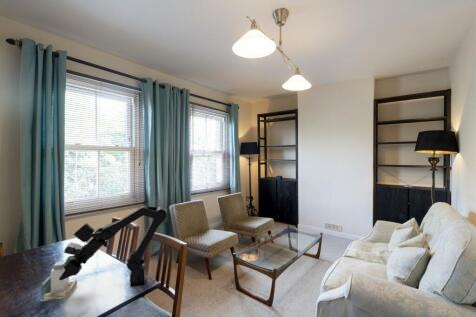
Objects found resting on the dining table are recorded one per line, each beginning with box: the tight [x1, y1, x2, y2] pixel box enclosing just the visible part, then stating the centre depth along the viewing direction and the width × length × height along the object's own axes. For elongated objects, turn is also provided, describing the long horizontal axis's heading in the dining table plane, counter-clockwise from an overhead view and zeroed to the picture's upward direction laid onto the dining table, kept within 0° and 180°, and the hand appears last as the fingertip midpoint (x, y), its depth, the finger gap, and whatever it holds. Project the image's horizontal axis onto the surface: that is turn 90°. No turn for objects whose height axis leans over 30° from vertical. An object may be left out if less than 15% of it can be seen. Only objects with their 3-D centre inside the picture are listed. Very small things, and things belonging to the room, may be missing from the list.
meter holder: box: [40, 274, 78, 302], centre depth 106 cm, size 10×10×7 cm
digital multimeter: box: [65, 255, 75, 264], centre depth 132 cm, size 7×15×3 cm, turn 21°
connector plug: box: [50, 260, 70, 293], centre depth 106 cm, size 5×5×13 cm
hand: (64, 274), depth 107 cm, fingers open, 9 cm apart
